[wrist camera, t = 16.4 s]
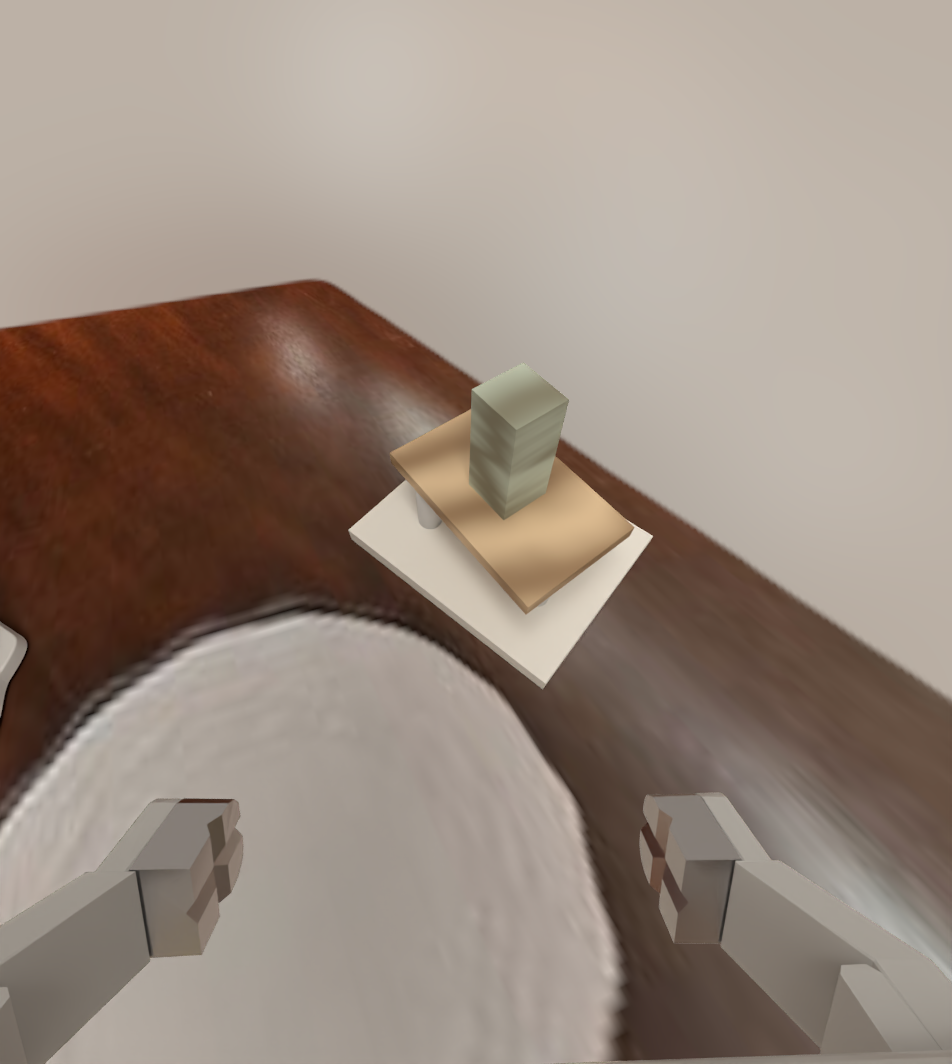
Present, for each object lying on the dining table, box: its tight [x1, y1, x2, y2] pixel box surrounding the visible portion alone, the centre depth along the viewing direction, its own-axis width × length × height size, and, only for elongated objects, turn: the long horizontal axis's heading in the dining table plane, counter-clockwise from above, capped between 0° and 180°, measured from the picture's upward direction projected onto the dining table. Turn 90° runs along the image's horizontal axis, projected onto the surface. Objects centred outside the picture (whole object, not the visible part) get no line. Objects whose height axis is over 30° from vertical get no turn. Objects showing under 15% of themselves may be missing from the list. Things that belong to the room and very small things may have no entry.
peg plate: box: [348, 480, 653, 689], centre depth 40 cm, size 20×16×6 cm
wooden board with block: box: [390, 363, 634, 614], centre depth 33 cm, size 16×10×10 cm, turn 38°
